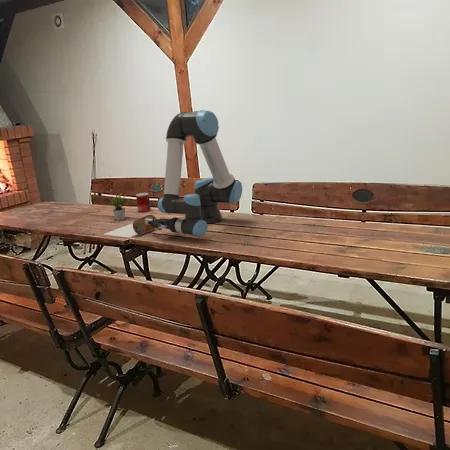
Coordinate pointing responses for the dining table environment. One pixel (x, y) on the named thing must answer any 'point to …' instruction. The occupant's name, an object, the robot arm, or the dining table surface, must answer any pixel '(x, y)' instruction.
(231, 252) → the dining table surface
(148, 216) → the tin
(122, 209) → the house plant
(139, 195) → the canned food
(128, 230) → the mat
